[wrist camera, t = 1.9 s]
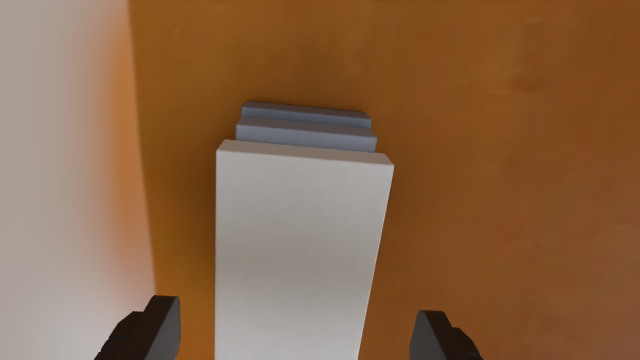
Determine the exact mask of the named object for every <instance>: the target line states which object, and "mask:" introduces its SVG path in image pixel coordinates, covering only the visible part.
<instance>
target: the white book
mask: <svg viewBox="0 0 640 360" xmlns="http://www.w3.org/2000/svg"><path fill="white" fill-rule="evenodd" d="M393 171H394V165H393V163H392V162H391V161H390V160H389V158H388V157H387V156H386V155H385V154H382V153H371V152H360V151H349V150H338V149H327V148H316V147H304V146H293V145H282V144H271V143H260V142H249V141H238V140H227V139H226V140H224V141H223V142H222V144H221V145H220V146H219V148H218V149H217V151H216V242H215V360H357V358H358V353H359V348H360V343H361V337H362V332H363V327H364V322H365V317H366V311H367V306H368V301H369V296H370V291H371V285H372V280H373V275H374V270H375V265H376V259H377V254H378V249H379V244H380V239H381V233H382V228H383V223H384V218H385V213H386V207H387V202H388V197H389V192H390V187H391V181H392V176H393Z"/></svg>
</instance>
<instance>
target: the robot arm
mask: <svg viewBox="0 0 640 360" xmlns="http://www.w3.org/2000/svg"><path fill="white" fill-rule="evenodd" d="M180 338H181V324H180V300H179V297H178V296H159V295H154V296H153V297H152V298H151V300H150V301H149V303H148V305H147V306H146V308H145V310H144V311H143V312H137V311H136V312H135V311H133V312H132V313H130V314H129V315H128V316H127V317H125V318H124V319H123V320H122V321H120V322H119V323H118V324H117V326H116V327H115V329H114V330H113V332H112V333H111V335H110V336H109V339H108V340H107V341H106V342H105V344H104V345H103V347H102V348H101V352H99V353H98V354H97V356H96V357H95V359H94V360H175V358H176V355H177V352H178V349H179V345H180ZM410 360H483V358H482V357H481V356H480V353H479V351H478V350H477V348H476V346H475V345H474V343H473V341H472V340H471V339H470V338H469V337H468V336H467V335H466V334H465V333H464V332H463V331H462V330H461V329H460V328H453V327H452V326H451V324H450V322H449V320H448V318H447V317H446V315H445V313H444V312H443V311H432V310H420V311H419V312H418V315H417V319H416V323H415V327H414V331H413V335H412V339H411V343H410Z"/></svg>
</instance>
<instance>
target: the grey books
mask: <svg viewBox="0 0 640 360" xmlns="http://www.w3.org/2000/svg"><path fill="white" fill-rule="evenodd" d="M371 123H372V119H371V118H370V117H369V116H368V115H367V114H366V113H364V112H354V111H344V110H335V109H325V108H315V107H305V106H295V105H285V104H275V103H265V102H255V101H246V102H245V103H244V105H243V106H242V107H241V119H240V120H239V122H238V123H237V124H236V136H235V140H238V141H249V142H260V143H271V144H282V145H293V146H304V147H316V148H327V149H338V150H349V151H360V152H371V153H375V149H376V143H377V137H376V136H375V135H374V133H373V132H372V131H371Z"/></svg>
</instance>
